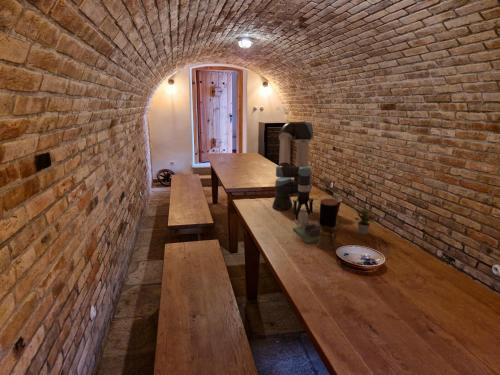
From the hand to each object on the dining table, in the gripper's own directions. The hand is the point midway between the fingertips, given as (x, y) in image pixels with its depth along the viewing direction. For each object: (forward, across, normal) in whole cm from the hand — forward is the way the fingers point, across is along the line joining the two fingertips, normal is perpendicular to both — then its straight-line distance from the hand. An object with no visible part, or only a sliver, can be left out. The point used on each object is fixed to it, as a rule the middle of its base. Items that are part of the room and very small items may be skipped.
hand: (302, 223), depth 210 cm
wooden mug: (+1, -1, -35) cm, 35 cm away
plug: (0, 0, 0) cm, 0 cm away
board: (0, -2, -17) cm, 17 cm away
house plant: (+1, +29, -24) cm, 38 cm away
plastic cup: (+1, +28, +8) cm, 29 cm away
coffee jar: (+1, +13, -10) cm, 16 cm away
